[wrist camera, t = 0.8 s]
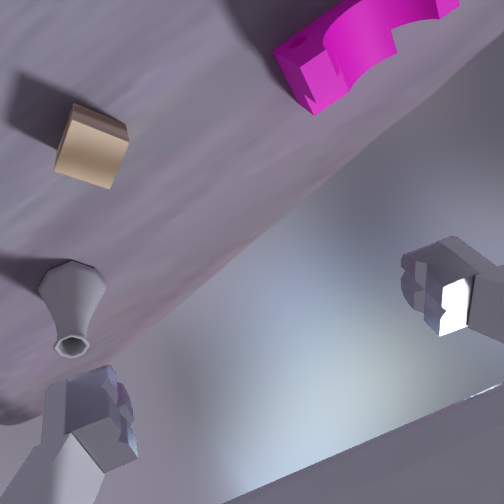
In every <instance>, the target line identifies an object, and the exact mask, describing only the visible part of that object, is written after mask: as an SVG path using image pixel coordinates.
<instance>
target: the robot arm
mask: <svg viewBox="0 0 504 504" xmlns="http://www.w3.org/2000/svg"><path fill="white" fill-rule="evenodd" d="M401 267H402V268H403V269H404V270H405V272H404V274H403V276H402V277H401V289H402V292H403V295H404V297H405V299H406V301H407V302H408V304H409V305H410V306H411V307H412V308H413V309H414V310H417V311H420V312H423V313H424V321H425V322H426V323H427V324H428V325H429V326H430V327H431V328H432V329H433V331H435V333H436V334H437V335H438V336H442V335H445V334H447V333H450V332H452V331H455V330H458V329H461V328H463V327H466V326H468V328H470V329H472V330H474V331H477V332H479V333H481V334H483V335H486V336H488V337H490V338H493V339H495V340H497V341H500V342H502V343H504V265H501V266H498V267H497V266H496V265H495V264H493V263H492V262H490V261H489V260H488V259H486V258H485V257H483V256H482V255H481V254H480V253H478V252H477V251H476V250H474V249H473V248H472V247H470V246H469V245H467V244H466V243H465V242H463V241H462V240H461V239H459V238H458V237H455V236H450V237H447V238H445V239H442V240H440V241H437V242H435V243H432V244H430V245H427V246H424V247H422V248H419V249H416V250H414V251H411V252H408V253H406V254H403V256H402V258H401ZM133 420H134V416H133V409H132V405H131V402H130V398H129V395H128V393H127V390H126V389H125V387H124V385H123V384H121V383H118V382H117V375H116V372H115V370H114V369H113V367H112V366H111V365H105V366H102V367H99V368H96V369H94V370H91V371H88V372H85V373H82V374H79V375H76V376H73V377H70V378H69V379H66V380H63V381H60V382H57V383H54V384H51V385H49V386H48V388H47V390H46V392H45V402H44V413H43V424H42V435H41V444H40V445H38V446H35V447H34V448H33V450H32V451H31V453H30V454H29V456H28V457H27V459H26V460H25V462H24V463H23V465H22V466H21V468H20V469H19V471H18V472H17V474H16V475H15V477H14V478H13V480H12V481H11V483H10V484H9V486H8V487H7V489H6V490H5V492H4V493H3V494H2V496H1V498H0V504H93V503H94V500H95V498H96V496H97V493H98V491H99V488H100V486H101V484H102V481H103V479H104V476H105V475H104V473H106V472H108V471H111V470H113V469H115V468H117V467H120V466H122V465H125V464H127V463H129V462H131V461H134V460H136V459H138V453H137V443H136V434H135V433H134V431H133V430H132V428H131V424H132V422H133ZM223 504H504V382H503V383H500V384H498V385H496V386H494V387H491V388H489V389H486V390H484V391H482V392H479V393H478V394H475V395H473V396H470V397H468V398H466V399H463V400H461V401H459V402H457V403H454V404H452V405H449V406H447V407H445V408H443V409H440V410H438V411H436V412H433V413H431V414H429V415H426V416H424V417H422V418H419V419H417V420H415V421H412V422H410V423H408V424H405V425H403V426H401V427H399V428H396V429H394V430H392V431H389V432H387V433H385V434H383V435H380V436H378V437H375V438H373V439H371V440H369V441H366V442H364V443H362V444H360V445H357V446H355V447H352V448H350V449H348V450H345V451H343V452H341V453H338V454H336V455H334V456H332V457H329V458H327V459H325V460H322V461H320V462H318V463H315V464H313V465H311V466H308V467H306V468H304V469H301V470H299V471H297V472H294V473H292V474H290V475H287V476H285V477H283V478H280V479H278V480H276V481H274V482H271V483H269V484H267V485H264V486H262V487H260V488H257V489H255V490H253V491H250V492H248V493H246V494H243V495H241V496H239V497H236V498H234V499H232V500H230V501H227V502H225V503H223Z"/></svg>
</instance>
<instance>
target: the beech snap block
mask: <svg viewBox="0 0 504 504" xmlns="http://www.w3.org/2000/svg"><path fill="white" fill-rule="evenodd" d="M129 143H130V142H129V137H128V133H127V128H126V124H123V123H121V122H119V121H116V120H114V119H111V118H109V117H107V116H104V115H102V114H99V113H97V112H95V111H92V110H90V109H88V108H85V107H83V106H80V105H78V104H76V103H73V106H72V108H71V111H70V114H69V117H68V120H67V123H66V125H65V128H64V131H63V134H62V137H61V140H60V142H59V145H58V148H57V152H56V160H55V167H54V171H56V172H59V173H62V174H65V175H68V176H71V177H74V178H77V179H80V180H83V181H86V182H89V183H92V184H95V185H98V186H101V187H104V188H106V189H109V190H110V188H111V185H112V183H113V181H114V178H115V176H116V174H117V171H118V169H119V166H120V164H121V162H122V159H123V157H124V155H125V152H126V150H127V148H128V145H129Z"/></svg>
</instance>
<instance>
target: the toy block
mask: <svg viewBox="0 0 504 504" xmlns="http://www.w3.org/2000/svg"><path fill="white" fill-rule="evenodd" d="M458 6H460V5H459V0H343V1H342V2H340V3H339V4H338V5H336V6H335V7H333V8H332V9H331V10H329V11H328V12H326V13H325V14H323V15H322V16H321V17H319V18H318V19H316V20H315V21H314V22H312V23H311V24H309V25H308V26H306V27H305V28H304V29H302V30H301V31H299V32H298V33H297V34H295V35H294V36H292V37H291V38H290V39H288V40H287V41H285V42H284V43H282V44H281V45H280V46H278V47H277V48H275V49H274V50H273V53H274V55H275V57H276V59H277V61H278V64H279V66H280V68H281V70H282V72H283V74H284V76H285V78H286V80H287V82H288V84H289V86H290V88H291V90H292V92H293V94H294V96H295V98H296V100H297V102H298V104H300V105H301V106H302V107H303V108H305V109H306V110H307V111H309V112H310V113H311V114H312V115H314V116H315V115H316V114H318V113H319V112H321V111H322V110H323V109H325V108H326V107H328V106H329V105H331V104H332V103H334V102H335V101H337V100H338V99H340V98H341V97H342V96H344V95H345V94H347V93H348V92H349V91H350V89H351V87H352V85H353V84H354V83H355V82H356V80H357V79H358V78H359V77H360V76H361V75H362V74H364V73H365V72H366V71H367V70H368V69H370V68H371V67H373V66H374V65H376V64H377V63H379V62H380V61H382V60H384V59H386V58H388V57H390V56H392V55H394V54H396V53H397V50H396V47H395V43H394V40H393V37H392V33H391V29H393V28H396V27H398V26H401V25H404V24H407V23H411V22H415V21H419V20H426V19H441V18H442V17H444V16H445V15H447V14H448V13H450V12H451V11H452V10H454V9H455V8H457V7H458Z"/></svg>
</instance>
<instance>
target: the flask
mask: <svg viewBox="0 0 504 504" xmlns="http://www.w3.org/2000/svg"><path fill="white" fill-rule="evenodd" d="M107 287H108V285H107V284H106V282H105V281H104V279H103V278H102V276H101V275H100V273H99V272H98V271H97V269H95V268H92V267H89V266H86V265H83V264H81V263H78V262H75V261H70V262H68V263H65V264H63V265H61V266H58V267H56V268H53V269H51V270H49V271H48V272H47V274H46V275H45V277H44V279H43V281H42V282H41V284H40V286H39V288H38V291H39V293H40V295H41V297H42V298H43V300H44V302H45V304H46V305H47V307H48V309H49V311H50V313H51V315H52V317H53V319H54V322H55V325H56V330H57V341H56V343H55V344H54V346H53V349H54V350H55V351H56V352H57V353H58V354H59V355H60V356H62V357H66V358H71V359H73V358H76V357H78V356H80V355H83V354H84V353H85V352H86V350H87V349H88V347H89V346H90V343H89V341H88V340H87V339H86V338H87V329H88V325H89V321H90V319H91V317H92V315H93V313H94V311H95V309H96V307H97V305H98V303H99V301H100V300H101V298H102V296H103V294H104V293H105V291H106V289H107Z"/></svg>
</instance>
